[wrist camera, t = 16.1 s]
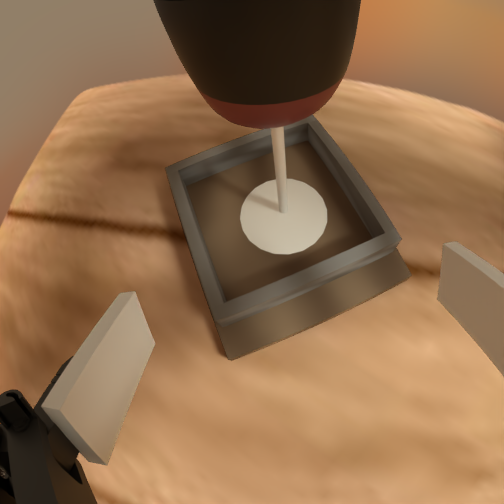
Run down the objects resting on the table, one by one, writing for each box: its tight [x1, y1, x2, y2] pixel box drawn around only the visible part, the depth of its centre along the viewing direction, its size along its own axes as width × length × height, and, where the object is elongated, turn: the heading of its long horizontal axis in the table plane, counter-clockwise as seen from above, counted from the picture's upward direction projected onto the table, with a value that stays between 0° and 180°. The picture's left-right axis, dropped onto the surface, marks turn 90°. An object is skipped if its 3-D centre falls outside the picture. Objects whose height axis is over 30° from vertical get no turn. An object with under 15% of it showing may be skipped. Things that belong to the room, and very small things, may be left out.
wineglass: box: [154, 0, 361, 254], centre depth 17 cm, size 8×9×20 cm
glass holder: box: [165, 114, 411, 361], centre depth 25 cm, size 16×20×4 cm
